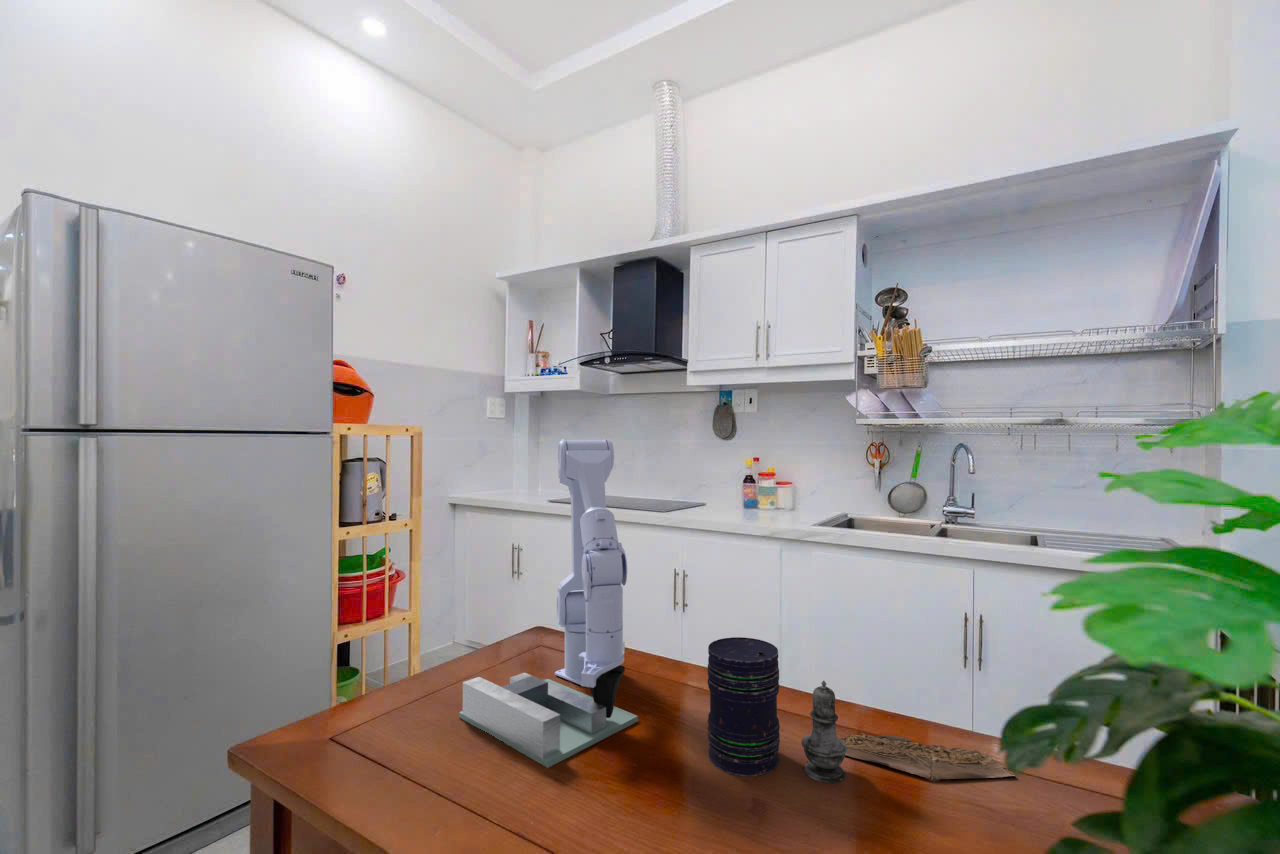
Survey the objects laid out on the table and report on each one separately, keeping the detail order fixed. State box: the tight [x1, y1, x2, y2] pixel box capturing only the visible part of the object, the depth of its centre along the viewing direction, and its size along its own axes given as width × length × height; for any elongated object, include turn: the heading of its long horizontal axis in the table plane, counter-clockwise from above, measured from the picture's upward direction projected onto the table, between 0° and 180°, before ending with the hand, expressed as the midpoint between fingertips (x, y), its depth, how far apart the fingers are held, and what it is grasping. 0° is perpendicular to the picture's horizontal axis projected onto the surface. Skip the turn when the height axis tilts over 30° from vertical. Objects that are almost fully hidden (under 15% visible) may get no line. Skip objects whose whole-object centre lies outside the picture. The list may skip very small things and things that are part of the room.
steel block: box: [501, 675, 548, 709], centre depth 94 cm, size 6×4×5 cm, turn 138°
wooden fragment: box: [838, 732, 1017, 782], centre depth 84 cm, size 26×11×1 cm, turn 69°
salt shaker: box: [800, 680, 848, 784], centre depth 80 cm, size 6×6×12 cm
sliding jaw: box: [509, 672, 606, 734], centre depth 96 cm, size 3×20×3 cm, turn 48°
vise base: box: [458, 676, 639, 769], centre depth 95 cm, size 18×22×6 cm
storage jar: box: [707, 636, 781, 777], centre depth 84 cm, size 10×10×15 cm
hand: (604, 716), depth 93 cm, fingers closed
